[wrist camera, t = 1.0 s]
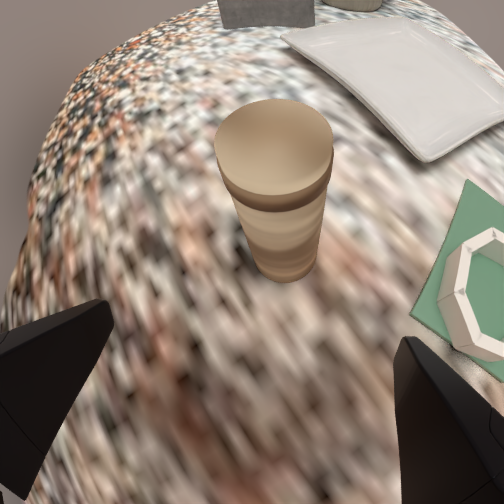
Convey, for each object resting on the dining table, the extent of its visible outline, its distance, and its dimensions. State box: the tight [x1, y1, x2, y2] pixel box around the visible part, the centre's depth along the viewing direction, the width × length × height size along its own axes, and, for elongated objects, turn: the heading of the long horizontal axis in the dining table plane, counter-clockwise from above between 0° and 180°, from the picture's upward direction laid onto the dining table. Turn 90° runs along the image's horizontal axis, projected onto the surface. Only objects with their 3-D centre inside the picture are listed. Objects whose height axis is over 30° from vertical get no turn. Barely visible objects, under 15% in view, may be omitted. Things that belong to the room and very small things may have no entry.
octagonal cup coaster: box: [409, 179, 504, 383], centre depth 18 cm, size 18×15×4 cm
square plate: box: [280, 17, 504, 163], centre depth 29 cm, size 27×27×4 cm
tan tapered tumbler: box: [214, 99, 334, 283], centre depth 18 cm, size 5×5×13 cm
